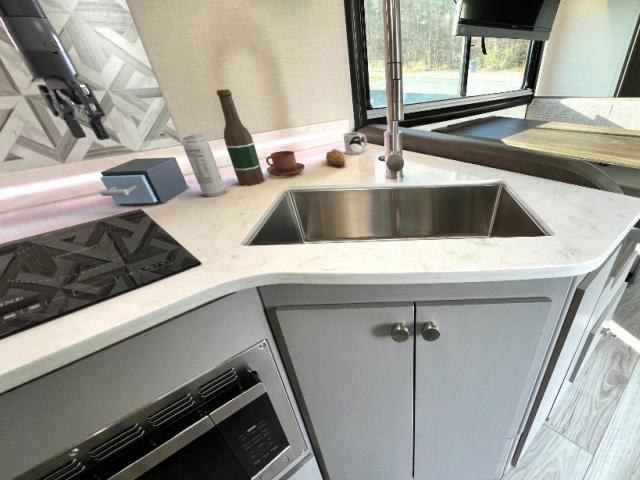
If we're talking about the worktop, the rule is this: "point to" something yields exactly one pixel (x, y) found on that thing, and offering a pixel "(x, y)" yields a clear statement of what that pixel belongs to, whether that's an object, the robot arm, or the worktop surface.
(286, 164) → the cup and saucer
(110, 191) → the light blue drawer
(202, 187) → the energy drink can
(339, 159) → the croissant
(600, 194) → the worktop surface
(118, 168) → the blue drawer box
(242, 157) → the beer bottle
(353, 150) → the mug
